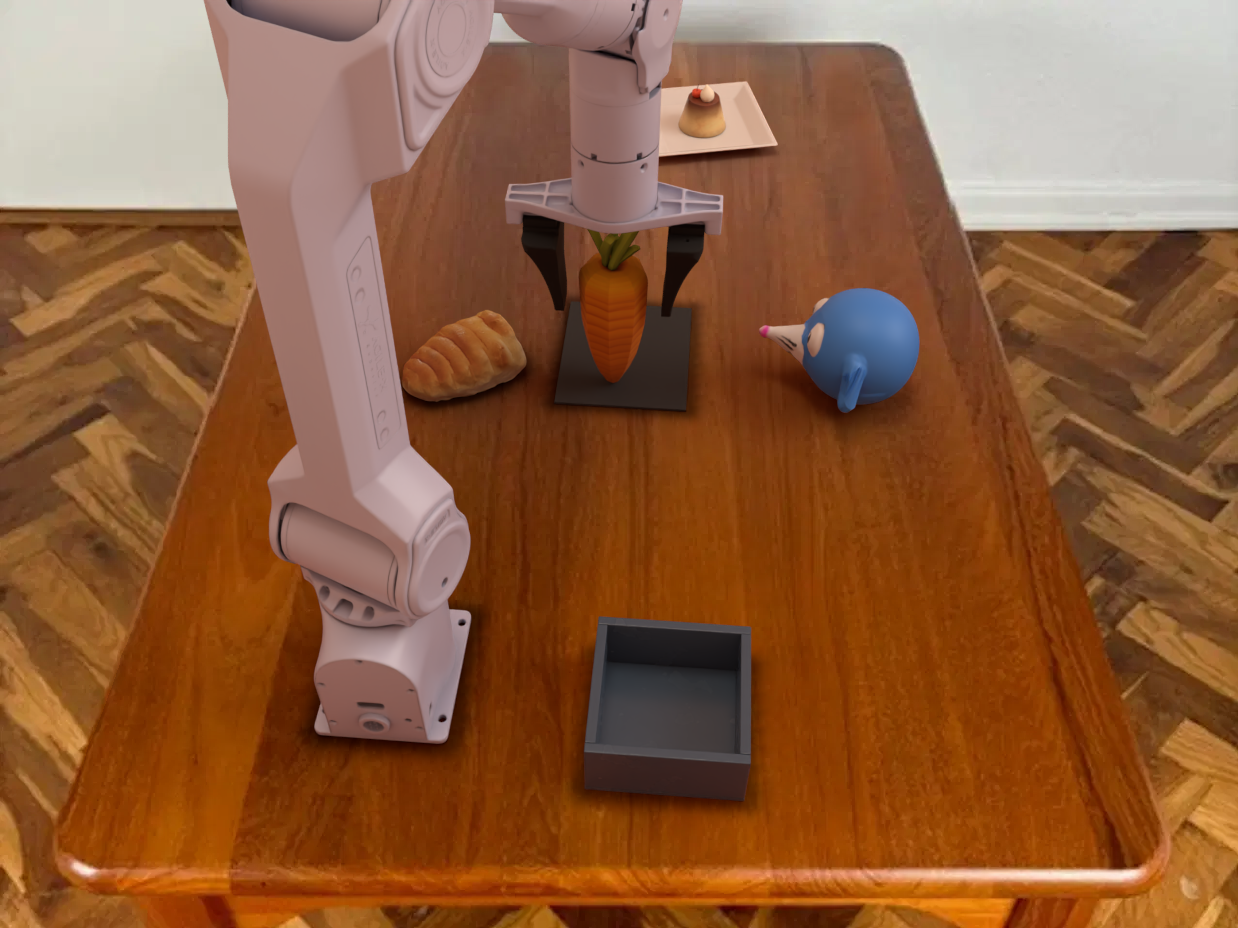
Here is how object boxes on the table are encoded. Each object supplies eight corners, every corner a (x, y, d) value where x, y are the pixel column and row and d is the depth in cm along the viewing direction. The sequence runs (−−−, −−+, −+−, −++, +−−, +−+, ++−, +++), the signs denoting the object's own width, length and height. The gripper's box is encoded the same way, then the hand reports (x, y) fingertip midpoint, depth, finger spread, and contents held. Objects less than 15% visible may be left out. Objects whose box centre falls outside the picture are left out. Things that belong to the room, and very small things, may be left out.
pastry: (432, 424, 89) (426, 386, 86) (385, 376, 93) (378, 339, 90) (534, 371, 93) (532, 334, 90) (485, 327, 97) (481, 290, 94)
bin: (744, 801, 69) (750, 764, 65) (584, 789, 69) (583, 751, 66) (745, 666, 75) (751, 626, 72) (598, 655, 75) (598, 615, 72)
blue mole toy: (764, 323, 97) (775, 238, 91) (912, 345, 96) (933, 261, 89) (741, 424, 89) (751, 339, 83) (902, 451, 88) (924, 366, 81)
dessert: (630, 101, 121) (631, 57, 117) (746, 91, 122) (750, 47, 119) (653, 166, 113) (655, 121, 109) (777, 155, 114) (782, 110, 111)
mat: (685, 411, 90) (686, 409, 90) (554, 403, 91) (554, 401, 91) (691, 309, 98) (691, 308, 98) (570, 303, 99) (570, 301, 99)
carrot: (568, 377, 92) (562, 216, 81) (619, 351, 94) (620, 190, 83) (606, 413, 90) (606, 251, 79) (658, 386, 92) (664, 224, 81)
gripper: (729, 112, 79) (715, 276, 89) (511, 101, 80) (521, 265, 90) (727, 172, 74) (712, 338, 84) (495, 160, 75) (508, 326, 85)
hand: (613, 305), depth 86 cm, fingers open, 7 cm apart
